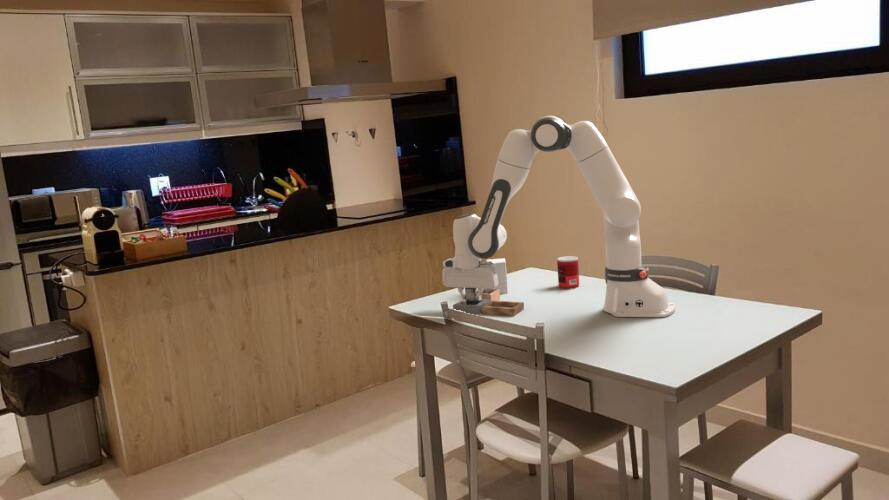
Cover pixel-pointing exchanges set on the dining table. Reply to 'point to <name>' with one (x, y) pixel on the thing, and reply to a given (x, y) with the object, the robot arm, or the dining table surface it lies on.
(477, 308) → the grey square tray
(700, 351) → the dining table surface
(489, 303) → the trough
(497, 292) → the pink square tray
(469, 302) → the cell
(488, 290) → the cell
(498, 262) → the supplement box
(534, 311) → the dining table surface
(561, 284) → the canned food
